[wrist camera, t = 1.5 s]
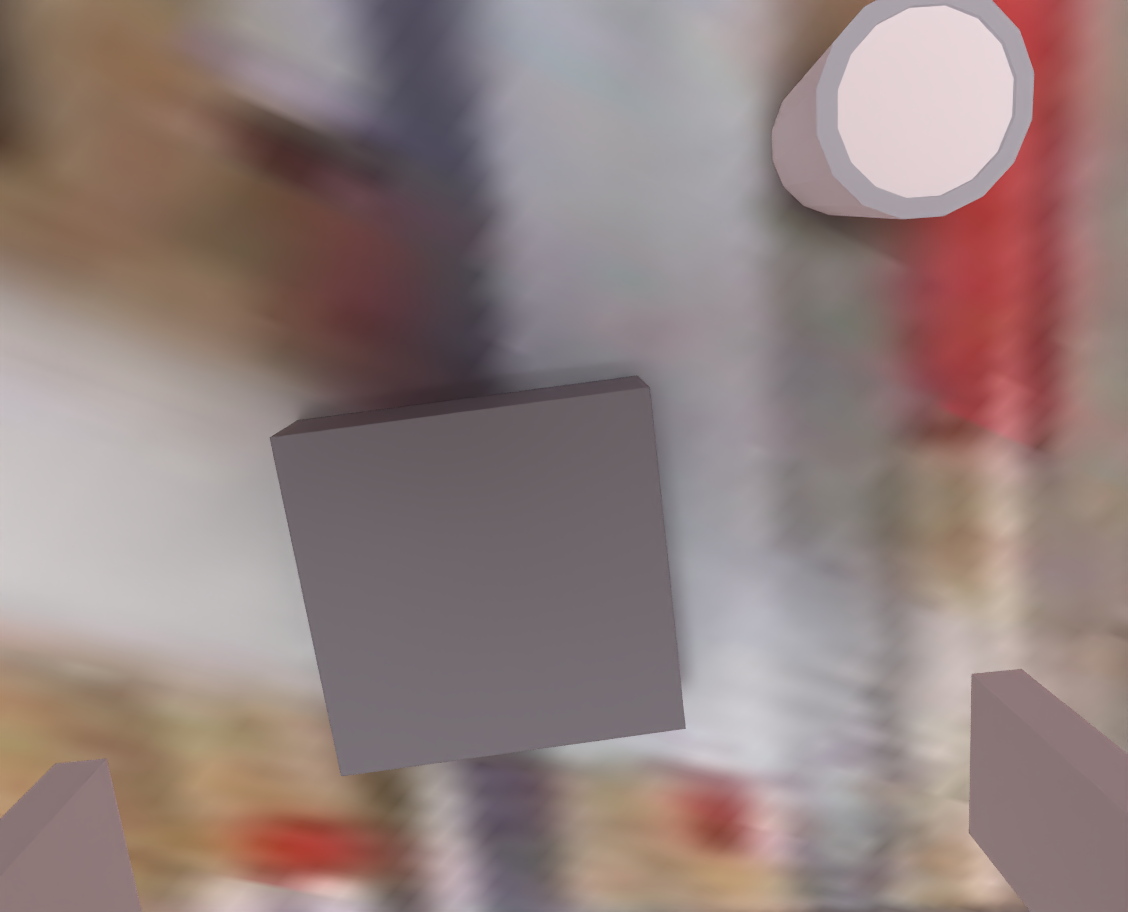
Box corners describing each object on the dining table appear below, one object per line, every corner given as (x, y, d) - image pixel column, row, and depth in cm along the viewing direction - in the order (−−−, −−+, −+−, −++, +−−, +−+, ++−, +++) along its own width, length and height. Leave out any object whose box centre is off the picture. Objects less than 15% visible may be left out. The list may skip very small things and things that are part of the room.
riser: (299, 418, 34) (269, 437, 30) (635, 374, 34) (649, 387, 30) (360, 723, 37) (341, 776, 33) (669, 681, 37) (685, 728, 33)
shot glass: (962, 157, 32) (1078, 125, 25) (819, 267, 33) (894, 264, 26) (867, 4, 31) (962, -73, 24) (720, 123, 32) (772, 80, 25)
